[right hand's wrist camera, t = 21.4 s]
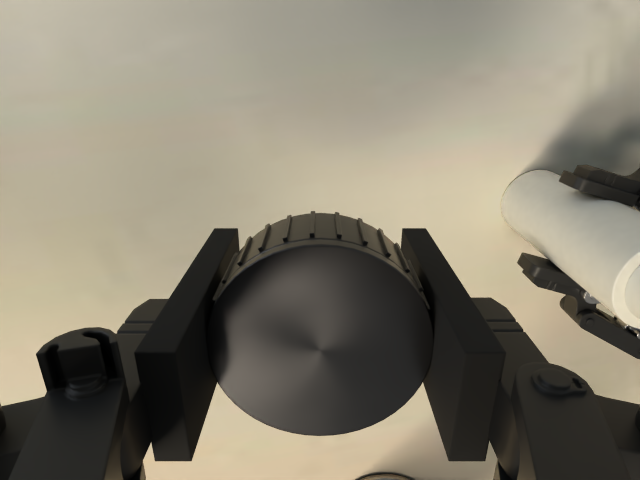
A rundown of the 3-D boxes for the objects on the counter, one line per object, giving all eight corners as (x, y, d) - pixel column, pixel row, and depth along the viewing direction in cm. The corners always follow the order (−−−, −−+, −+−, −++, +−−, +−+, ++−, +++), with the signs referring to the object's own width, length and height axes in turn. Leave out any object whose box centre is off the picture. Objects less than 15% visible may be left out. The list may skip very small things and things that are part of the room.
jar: (532, 156, 31) (711, 232, 17) (581, 192, 32) (787, 292, 18) (487, 211, 33) (616, 322, 19) (534, 243, 34) (691, 372, 20)
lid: (381, 397, 13) (392, 456, 11) (206, 358, 13) (185, 413, 11) (447, 240, 11) (475, 277, 9) (244, 185, 11) (226, 212, 9)
